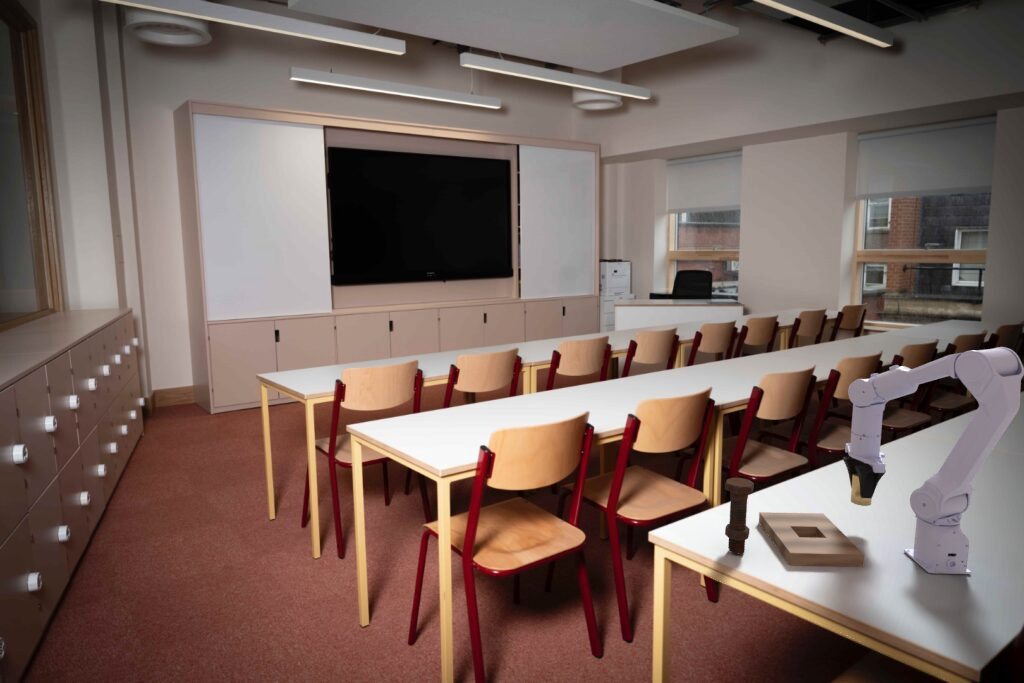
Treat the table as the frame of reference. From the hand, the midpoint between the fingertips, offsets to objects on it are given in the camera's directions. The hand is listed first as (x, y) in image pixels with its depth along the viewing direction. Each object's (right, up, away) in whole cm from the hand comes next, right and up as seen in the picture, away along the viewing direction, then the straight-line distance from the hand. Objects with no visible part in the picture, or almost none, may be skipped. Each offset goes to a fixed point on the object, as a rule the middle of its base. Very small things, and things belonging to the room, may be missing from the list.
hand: (861, 493), depth 149 cm
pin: (0, -2, 0) cm, 2 cm away
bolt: (-31, -10, -10) cm, 34 cm away
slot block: (-14, -9, -6) cm, 18 cm away
